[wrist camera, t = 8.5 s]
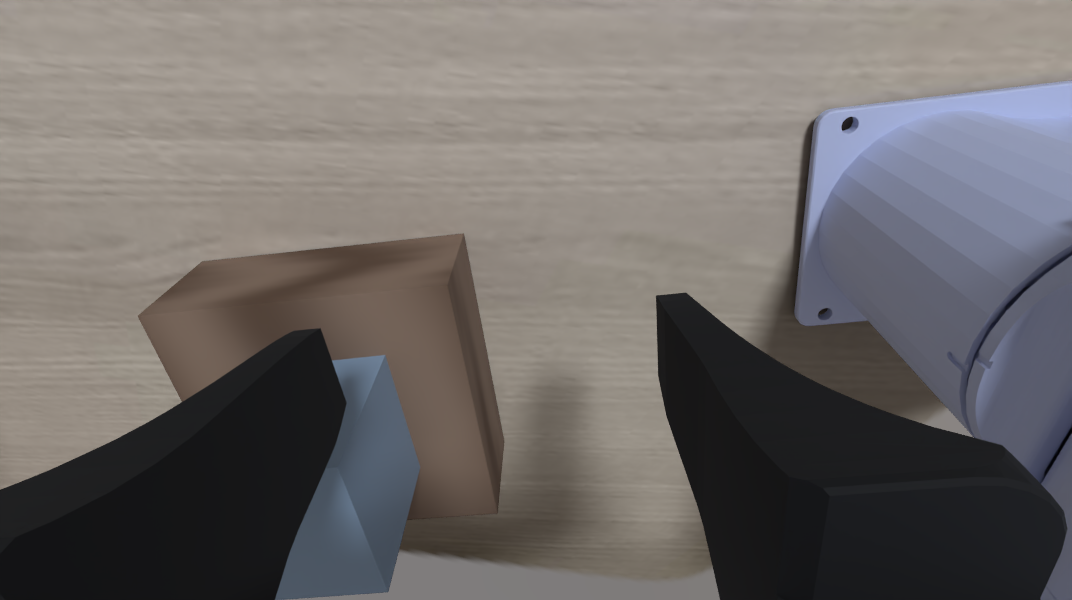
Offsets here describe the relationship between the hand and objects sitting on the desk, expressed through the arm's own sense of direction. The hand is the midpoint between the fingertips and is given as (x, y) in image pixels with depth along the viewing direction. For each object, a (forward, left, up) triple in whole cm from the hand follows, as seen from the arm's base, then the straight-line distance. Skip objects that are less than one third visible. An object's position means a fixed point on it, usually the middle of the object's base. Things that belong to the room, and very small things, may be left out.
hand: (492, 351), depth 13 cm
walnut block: (+7, +6, -9) cm, 13 cm away
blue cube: (+7, +6, -5) cm, 11 cm away
